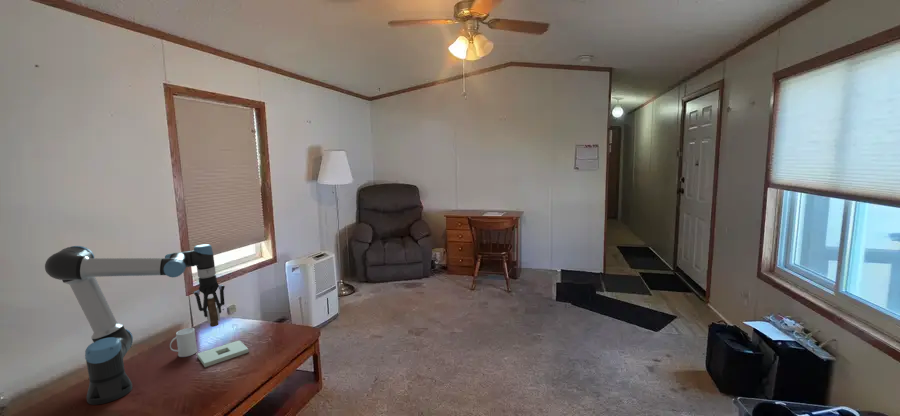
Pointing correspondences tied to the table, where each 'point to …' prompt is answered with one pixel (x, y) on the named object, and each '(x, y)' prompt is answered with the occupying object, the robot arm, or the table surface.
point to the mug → (185, 342)
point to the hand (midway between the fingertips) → (213, 321)
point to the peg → (212, 311)
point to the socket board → (212, 354)
